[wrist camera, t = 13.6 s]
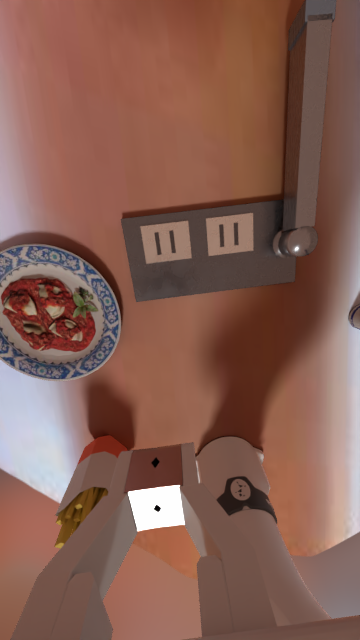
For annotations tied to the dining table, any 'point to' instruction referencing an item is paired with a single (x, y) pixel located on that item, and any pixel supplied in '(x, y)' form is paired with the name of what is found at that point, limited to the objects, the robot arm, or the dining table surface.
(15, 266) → the ceramic plate
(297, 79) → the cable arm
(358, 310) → the energy drink
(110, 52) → the dining table surface
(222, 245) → the double power outlet
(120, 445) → the french fries container
